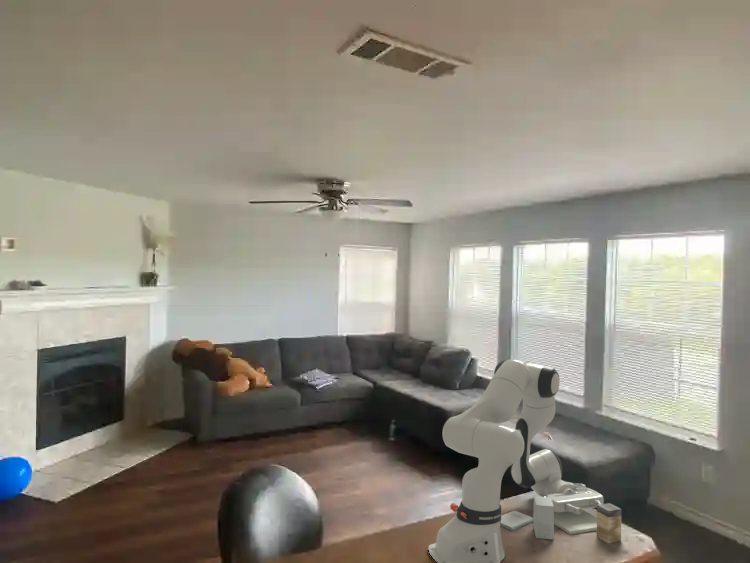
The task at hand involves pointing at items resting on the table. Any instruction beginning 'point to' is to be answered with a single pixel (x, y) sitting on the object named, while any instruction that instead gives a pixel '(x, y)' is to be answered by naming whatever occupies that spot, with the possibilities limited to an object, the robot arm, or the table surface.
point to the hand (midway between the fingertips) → (591, 510)
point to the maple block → (608, 523)
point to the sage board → (575, 522)
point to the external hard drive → (514, 520)
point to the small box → (543, 518)
